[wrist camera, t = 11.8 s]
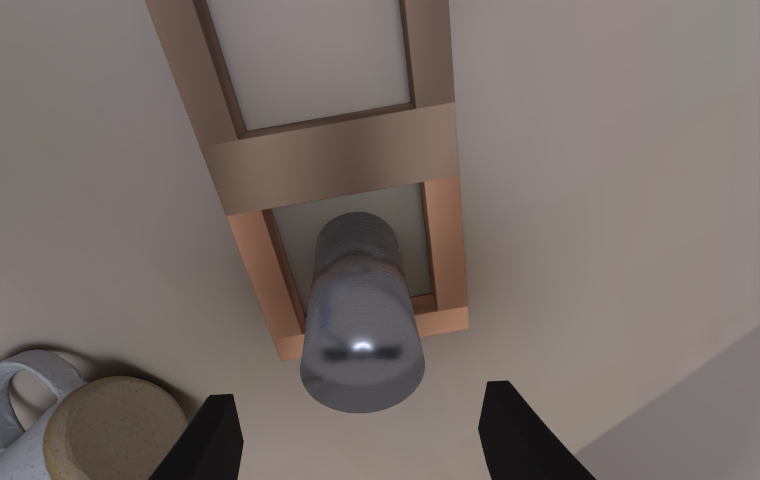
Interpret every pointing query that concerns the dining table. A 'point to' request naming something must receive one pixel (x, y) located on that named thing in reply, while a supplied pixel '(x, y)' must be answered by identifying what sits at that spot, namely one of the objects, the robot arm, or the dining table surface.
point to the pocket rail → (327, 161)
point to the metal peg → (360, 320)
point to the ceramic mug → (86, 425)
